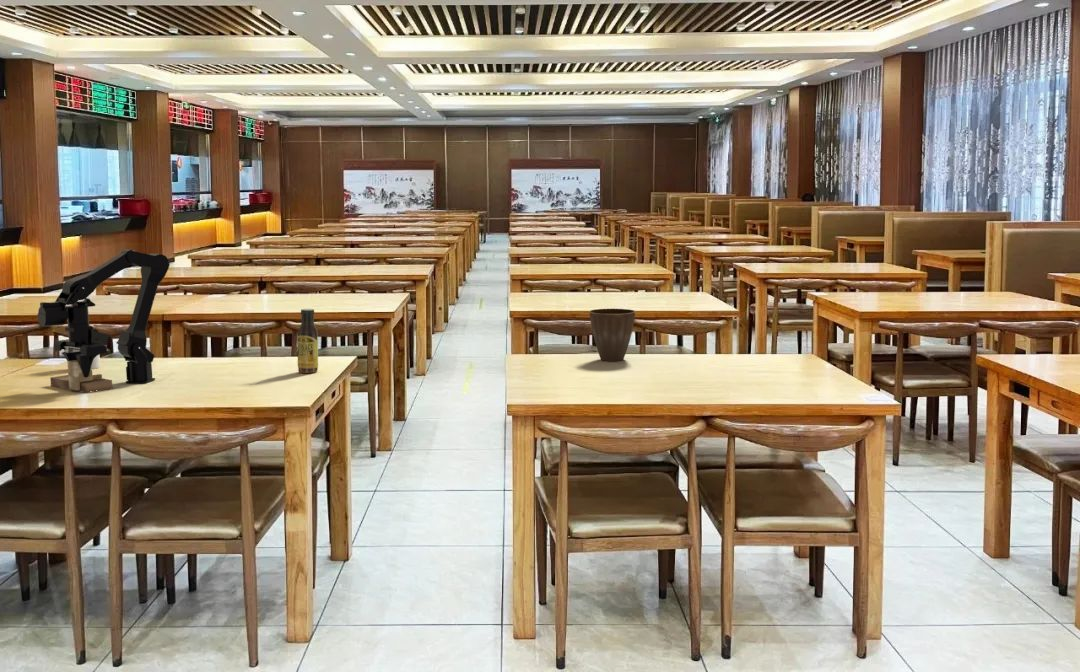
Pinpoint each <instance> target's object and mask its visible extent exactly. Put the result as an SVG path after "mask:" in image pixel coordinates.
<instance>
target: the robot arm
mask: <svg viewBox="0 0 1080 672" xmlns="http://www.w3.org/2000/svg"><path fill="white" fill-rule="evenodd" d="M131 265H134V266H137V267H140V275H141V283H140V288H139V290H138V293H137V294H138V295H137V298H136V301H135V306H134V308H133V311H132V316H131V320H130V323H129V326H128V327H127V329H126V330H120V332H119V336H118V339H117V341H116V344H117V350H118V352H119V354H120V355H121V356H123V359H124V360H125V361H126V366H125V374H126V376H125V377H126V380H125V381H124V382H125V384H147V383H150V382H152V381H155V380H156V378H155V377H153V368H152V367H153V366H152V365H153V364H152V363H153V362H154V358H155V354H154V353H152V351H150V350H149V349H148V348H147V344H148V343H147V342H148V340H147V331H146V329H147V325H148V321H149V318H150V315H151V312H152V308H153V304H154V301H155V297H156V293H157V291H158V287H159V285H160V284H161V282H162V281H163V279H164V278H165V276H166V275H167V273H168V271H169V269H170V260H169V258H168V257H167V256H166V255H164V254H159V253H144V252H139V251H136V250H134V249H123V250H122V251H121V252H120V253H118V254H117V255H115V256H113V257H111V258H110V259H109V260H107V261H105V262H104V263H102V264H101V265H99V266H97V267H96V268H94V269H92V270H91V271H89V272H87V273H84V274H81V275H78V276H74V277H72V278H70V279H68V280H67V279H66V281H64V282H63V284H62V290H61V292H60V293H59V295H58V296H57V298H56V299H55V301H50V302H45V301H43V302H40V303H39V307H38V310H37V311H38V312H37V321H38V324H39V325H40V326H41V327H42V328H43V327H53V326H61V325H62V326H63V325H64V324H65V322H67V326H64V331H66V332H68V335H67V336H68V339H60V340H59V339H58V340H56V342H54V344H53V345H54V348H53V349H54V351H56V352H61V351H62V350H63V351H62V352H61V355H63V357H64V358H65V360H66V361H74V360H78V362H79V365H80V368H81V370H82V373H83V375H84V377H88V376H89V373H90V369H91V365H92V362H93V359H94V358H95V357H96V356H97V355H99V354H100V355H102V354H107V353H108V351H107V350H108V347H107V346H108V345H109V341H110V336H111V335H110V334H108V333H103V332H99V329H96V328H94V327H93V325H90V316H89V307H91V308H92V307H96V303H94V302H93V301H92V300H91V299H90V298H88V297H90V295H92V293H93V292H95V290H96V289H97V288H98V286H100V285H101V284H102V283H104V282H106V281H107V280H108V279H110V278H112V277H113V276H115V275H116V274H118V273H119V272H121V271H122V270H124V269H126V268H127V267H130V266H131Z"/></svg>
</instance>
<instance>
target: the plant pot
mask: <svg viewBox="0 0 1080 672" xmlns="http://www.w3.org/2000/svg"><path fill="white" fill-rule="evenodd" d="M588 312H589V313H588V314H589V319H590V326H591V331H592V336H593V339H594V342H595V347H596V349H597V352H598V356H599V359H600V360H601V361H605V362H620V361H623V360H624V359H625V356H626V353H627V352H628V351H627V350H628V348H629V344H630V340H631V338H632V333H633V329H634V324H635V317H636V310H634V309H629V308H627V309H626V308H596V309H595V308H594V309H591V310H589V311H588Z"/></svg>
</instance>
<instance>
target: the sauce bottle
mask: <svg viewBox="0 0 1080 672" xmlns="http://www.w3.org/2000/svg"><path fill="white" fill-rule="evenodd" d="M314 314H315V309H314V308H303V309H300V315H301V321H300V322H301V324H300V328H299V329H298V331H297V332H298V333H297V369H298V370H297V371H298V372H299V373H300V374H313V373H317V372H318V368H319V339H318V337H319V335H318V334H319V333H318V329H317V327H316V326H315V318H314Z"/></svg>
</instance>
